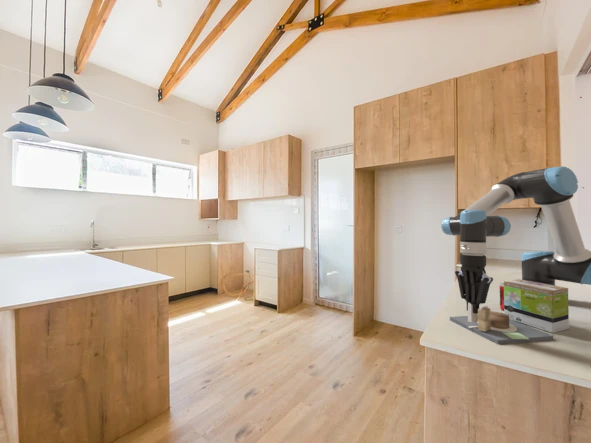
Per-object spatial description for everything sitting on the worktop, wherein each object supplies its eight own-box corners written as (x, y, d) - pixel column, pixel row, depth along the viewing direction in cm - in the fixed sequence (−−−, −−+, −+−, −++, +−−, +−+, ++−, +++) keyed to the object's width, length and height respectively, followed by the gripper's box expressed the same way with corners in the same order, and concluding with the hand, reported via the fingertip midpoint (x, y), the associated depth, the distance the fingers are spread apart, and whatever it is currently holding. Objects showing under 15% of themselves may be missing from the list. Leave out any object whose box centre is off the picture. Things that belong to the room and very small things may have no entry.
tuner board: (495, 317, 100) (495, 313, 100) (556, 340, 80) (556, 336, 80) (448, 320, 98) (448, 316, 98) (498, 345, 77) (498, 341, 77)
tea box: (503, 318, 99) (502, 280, 99) (519, 315, 102) (518, 278, 103) (553, 334, 85) (552, 289, 85) (570, 329, 88) (569, 286, 88)
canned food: (529, 314, 103) (529, 287, 103) (507, 313, 104) (506, 286, 104) (517, 308, 110) (516, 283, 110) (496, 307, 112) (495, 282, 112)
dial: (489, 319, 94) (489, 299, 94) (513, 325, 88) (512, 304, 88) (468, 328, 87) (468, 306, 87) (492, 335, 80) (491, 312, 81)
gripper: (448, 252, 94) (448, 315, 94) (481, 256, 81) (481, 330, 81) (465, 251, 96) (465, 314, 96) (499, 256, 83) (499, 328, 83)
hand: (472, 321), depth 89 cm, fingers closed
